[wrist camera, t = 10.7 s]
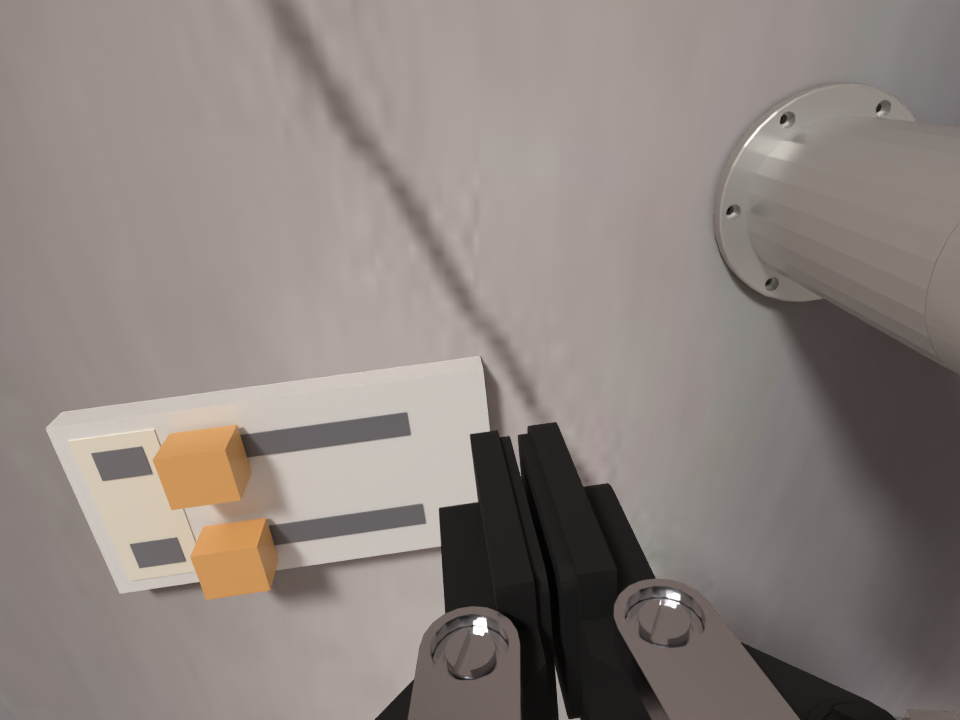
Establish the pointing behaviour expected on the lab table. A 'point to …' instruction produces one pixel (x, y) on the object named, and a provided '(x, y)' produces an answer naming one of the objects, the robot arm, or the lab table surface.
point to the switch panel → (284, 467)
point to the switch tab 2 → (235, 558)
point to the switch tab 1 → (203, 467)
